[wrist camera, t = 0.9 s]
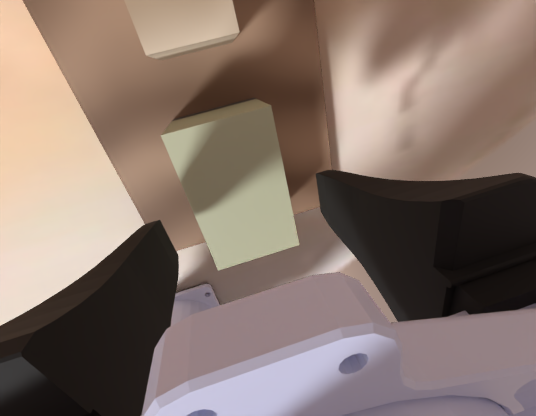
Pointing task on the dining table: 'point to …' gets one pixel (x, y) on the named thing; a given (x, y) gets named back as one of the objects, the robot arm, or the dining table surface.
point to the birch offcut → (182, 25)
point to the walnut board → (190, 94)
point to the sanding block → (234, 180)
